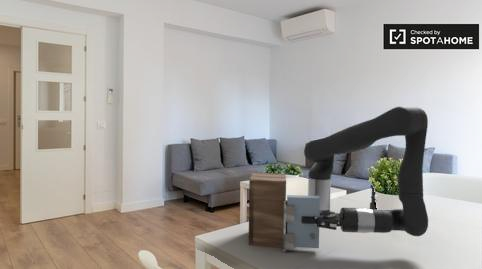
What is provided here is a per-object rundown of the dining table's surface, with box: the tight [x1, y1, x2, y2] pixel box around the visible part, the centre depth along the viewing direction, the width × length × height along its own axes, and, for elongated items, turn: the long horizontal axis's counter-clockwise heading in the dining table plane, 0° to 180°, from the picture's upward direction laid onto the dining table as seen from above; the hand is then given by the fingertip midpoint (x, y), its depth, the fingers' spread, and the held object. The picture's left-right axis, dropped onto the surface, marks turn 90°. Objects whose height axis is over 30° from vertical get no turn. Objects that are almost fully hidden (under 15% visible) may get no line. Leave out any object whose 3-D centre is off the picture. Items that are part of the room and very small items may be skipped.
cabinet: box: [248, 172, 295, 252], centre depth 116 cm, size 19×15×22 cm
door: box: [286, 194, 320, 249], centre depth 108 cm, size 4×10×16 cm, turn 84°
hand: (301, 218), depth 108 cm, fingers closed on door, 3 cm apart
